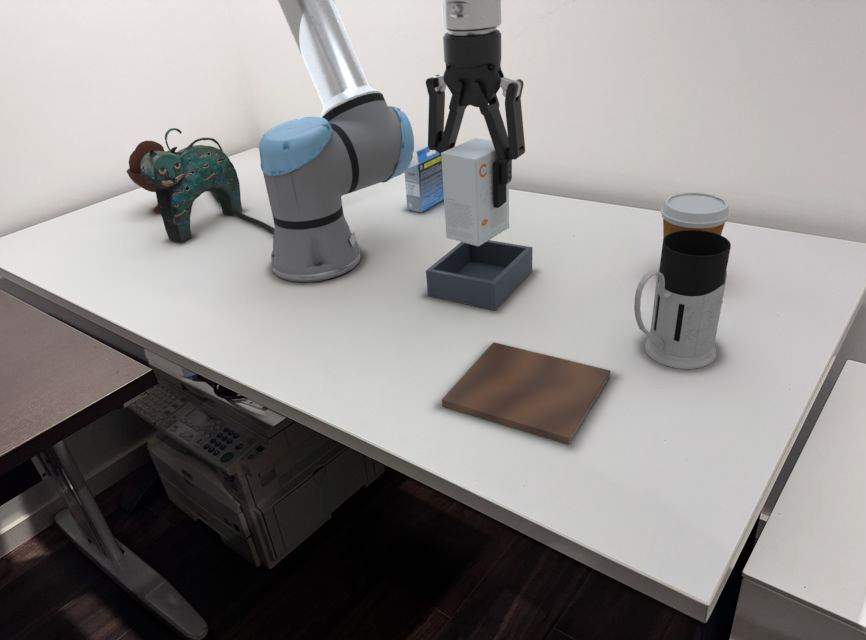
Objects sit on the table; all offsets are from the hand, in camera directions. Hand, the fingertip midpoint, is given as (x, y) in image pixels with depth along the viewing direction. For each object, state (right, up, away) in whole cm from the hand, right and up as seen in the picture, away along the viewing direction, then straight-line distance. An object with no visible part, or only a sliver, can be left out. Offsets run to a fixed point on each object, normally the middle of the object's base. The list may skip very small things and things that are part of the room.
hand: (476, 200), depth 99 cm
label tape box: (-8, +8, +38) cm, 40 cm away
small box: (0, -4, +3) cm, 5 cm away
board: (+5, -27, -17) cm, 32 cm away
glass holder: (+23, -23, -13) cm, 35 cm away
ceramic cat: (-53, +3, +37) cm, 64 cm away
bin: (+1, -12, +7) cm, 14 cm away
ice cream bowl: (-64, +8, +47) cm, 80 cm away
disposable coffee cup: (+32, -11, +4) cm, 34 cm away
